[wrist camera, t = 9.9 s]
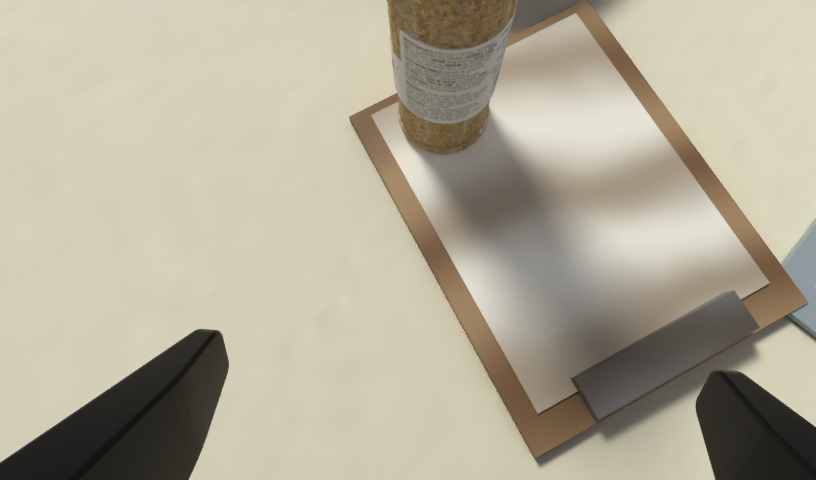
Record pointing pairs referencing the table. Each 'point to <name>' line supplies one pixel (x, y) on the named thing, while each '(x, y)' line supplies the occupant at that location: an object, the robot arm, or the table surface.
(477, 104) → the sprinkles bottle
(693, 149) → the clipboard
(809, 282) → the word card
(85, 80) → the table surface
